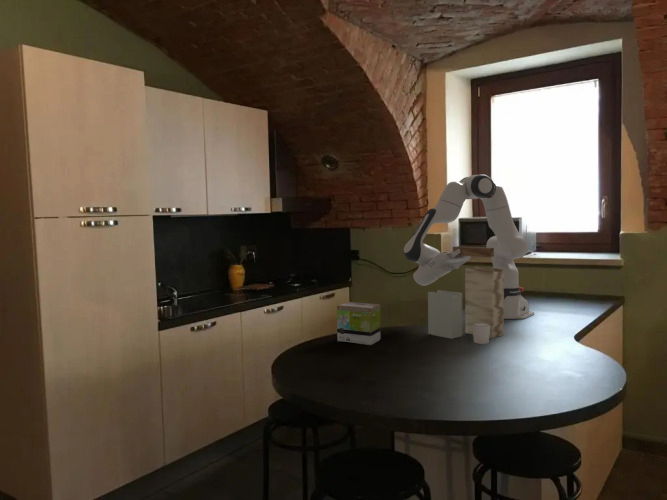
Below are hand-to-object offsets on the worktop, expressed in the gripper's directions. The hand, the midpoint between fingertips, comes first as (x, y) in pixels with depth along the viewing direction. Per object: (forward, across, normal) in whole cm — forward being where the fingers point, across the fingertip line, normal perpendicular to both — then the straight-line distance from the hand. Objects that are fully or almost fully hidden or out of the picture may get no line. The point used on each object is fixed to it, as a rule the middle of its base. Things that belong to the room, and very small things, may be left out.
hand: (464, 250), depth 227 cm
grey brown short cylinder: (-2, -13, +39) cm, 41 cm away
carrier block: (-17, -13, +30) cm, 37 cm away
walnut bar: (+3, 0, +4) cm, 5 cm away
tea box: (-33, -45, +21) cm, 59 cm away
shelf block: (-9, 0, +35) cm, 36 cm away
